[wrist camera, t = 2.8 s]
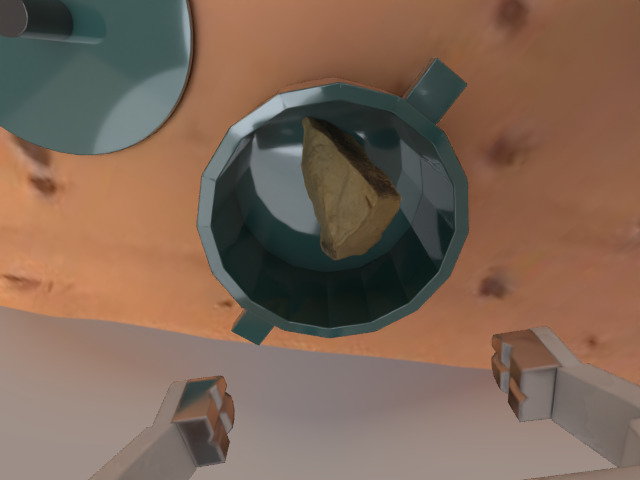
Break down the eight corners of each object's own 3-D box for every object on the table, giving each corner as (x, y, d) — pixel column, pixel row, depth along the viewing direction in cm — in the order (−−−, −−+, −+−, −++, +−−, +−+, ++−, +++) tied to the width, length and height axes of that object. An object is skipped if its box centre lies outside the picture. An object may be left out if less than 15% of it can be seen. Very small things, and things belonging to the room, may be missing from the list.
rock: (373, 285, 33) (443, 188, 28) (313, 321, 26) (391, 200, 21) (288, 208, 36) (336, 110, 31) (216, 221, 30) (263, 100, 25)
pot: (499, 136, 30) (561, 161, 23) (332, 327, 38) (336, 393, 30) (324, -11, 26) (328, -41, 18) (175, 237, 33) (134, 288, 26)
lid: (243, -16, 26) (226, -36, 21) (132, 195, 32) (96, 221, 26) (-39, -240, 21) (-153, -337, 16) (-107, 55, 27) (-206, 54, 22)
